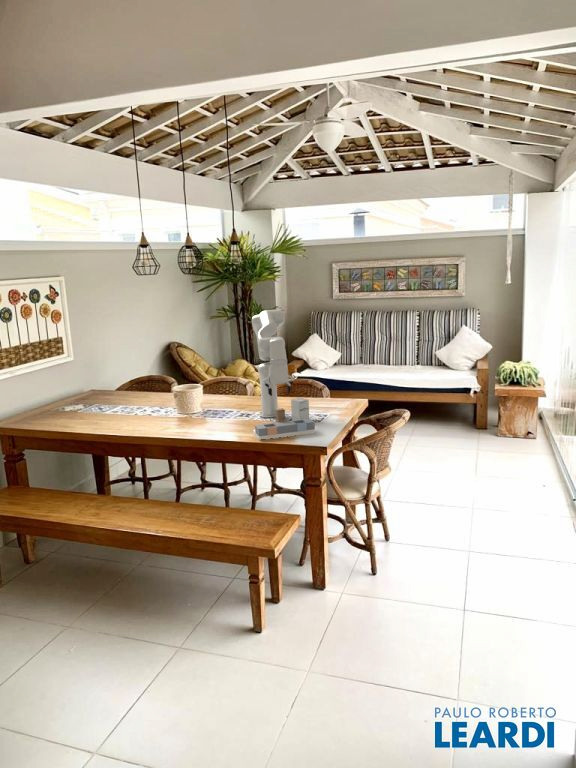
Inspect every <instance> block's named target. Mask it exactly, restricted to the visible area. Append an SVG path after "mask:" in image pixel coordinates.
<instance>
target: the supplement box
mask: <svg viewBox="0 0 576 768" xmlns="http://www.w3.org/2000/svg"><path fill="white" fill-rule="evenodd" d="M309 403H310V400H309V399H308V398H303V397H299V398H294V399H291V400H290V406H291V407H290V408H291V421H293V420H301V419H310V406H309V405H310V404H309Z"/></svg>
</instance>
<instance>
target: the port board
mask: <svg viewBox="0 0 576 768" xmlns="http://www.w3.org/2000/svg"><path fill="white" fill-rule="evenodd" d="M315 426H316V425H315V421H314V420H312V419H311V418H309V419H301V420H293V421H292V420H288V421H287V420H285V422H277V423H276V422H272V423H270V422H269V423H263V424H255V425H254V429H252V434H253V435H254V437H256V439H257V440H258V441H262V440H261V439H266V440H271V439H270V438H273V439H280V438H279V437H281V438H287V436H288V437H296V436H301V435H309V434H311V435H312V434H315V433H316V429H315V428H316V427H315ZM295 435H296V436H295Z"/></svg>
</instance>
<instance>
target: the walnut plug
mask: <svg viewBox="0 0 576 768" xmlns="http://www.w3.org/2000/svg"><path fill="white" fill-rule="evenodd" d="M285 421H286V410H285V409H284V408H278V409H276V417H275V423H277V422H285Z"/></svg>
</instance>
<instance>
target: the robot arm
mask: <svg viewBox="0 0 576 768" xmlns="http://www.w3.org/2000/svg"><path fill="white" fill-rule="evenodd" d="M285 320H286V316H285V312H284V311H283V310H282V309H266V310H263V311H261V312H260V313H259V314H256V315H254V316H252V318H251V326H252V329H253V332H254V334H255V336H256V342H257V350H258V351H257V352H258V356H259V357H258V358H259V359H260V360H261V361H268V362H262V363H260V364H258V367H257V372H258V377H259V383H260V384H259V385H260V399H261V401H260V403H261V412H260V413H259V416H260V417H261V418H276V409H279V407H278V406H279V405H278V390H277V389H278V388H277V387H278V386H277V385H282V384H286V394H288V395H290V393H291V386H292V385H293V383H294V382H295V379H296V377H294V376H291V375H290V374H289V370H288V358H287V352H286V351H287V350H286V342H285V339H284V338H283V337H282V336H274V335H275V334H276V333H277V332H278V328H281V327H282V326H283V325H284V324H285V322H286V321H285ZM289 380H290V381H289Z"/></svg>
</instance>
